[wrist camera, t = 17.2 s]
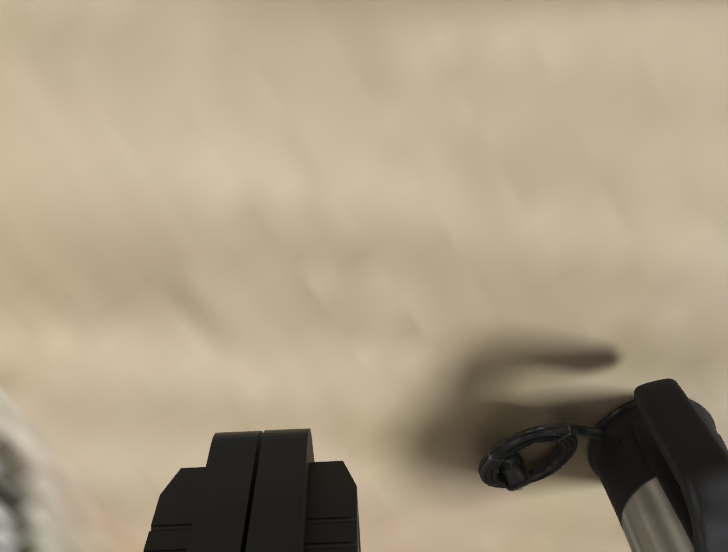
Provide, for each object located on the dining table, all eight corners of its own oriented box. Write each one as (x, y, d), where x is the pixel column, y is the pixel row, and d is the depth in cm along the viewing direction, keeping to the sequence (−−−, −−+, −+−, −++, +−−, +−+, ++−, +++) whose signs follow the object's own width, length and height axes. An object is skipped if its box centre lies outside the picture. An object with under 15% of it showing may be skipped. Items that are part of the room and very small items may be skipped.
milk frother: (732, 451, 52) (859, 644, 39) (544, 536, 56) (603, 735, 43) (656, 325, 46) (778, 505, 33) (452, 432, 50) (489, 627, 37)
